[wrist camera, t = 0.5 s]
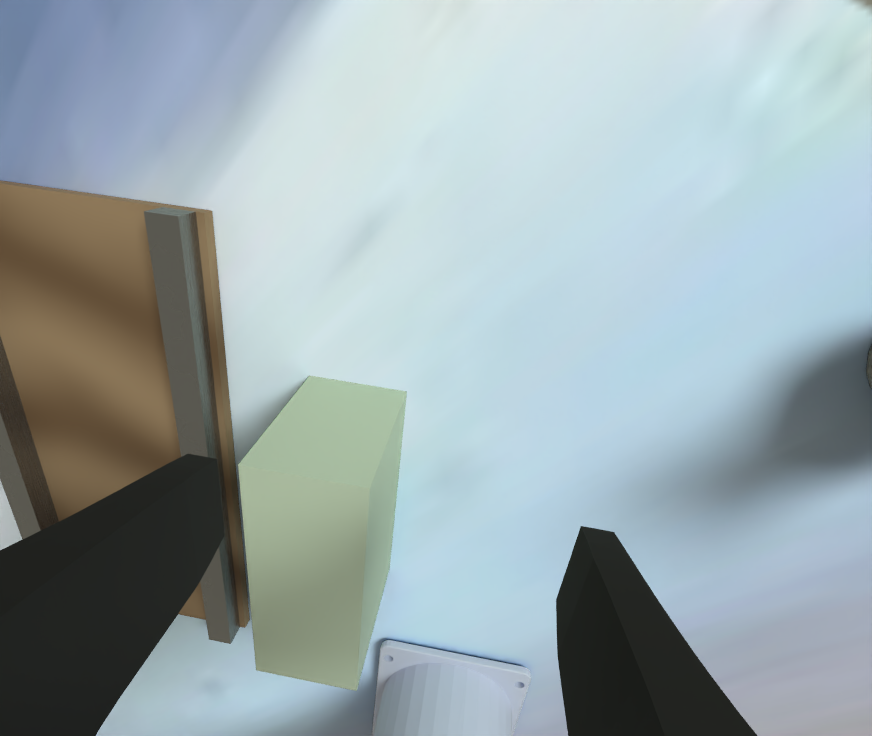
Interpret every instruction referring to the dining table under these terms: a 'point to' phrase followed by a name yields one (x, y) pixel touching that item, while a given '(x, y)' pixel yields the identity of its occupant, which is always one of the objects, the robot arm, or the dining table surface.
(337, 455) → the pale green block
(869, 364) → the grey tall carved piece
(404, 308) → the dining table surface
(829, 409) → the dining table surface
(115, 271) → the floor track
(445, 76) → the dining table surface
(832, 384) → the dining table surface
